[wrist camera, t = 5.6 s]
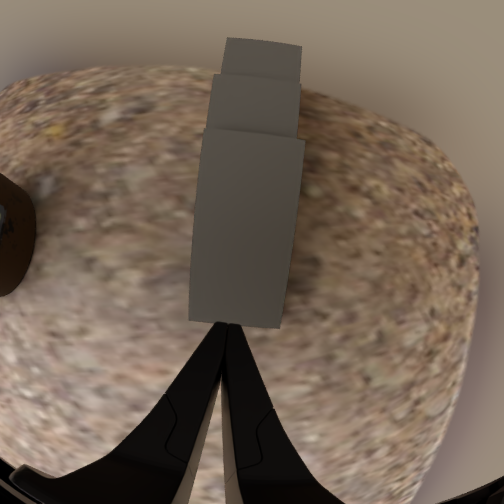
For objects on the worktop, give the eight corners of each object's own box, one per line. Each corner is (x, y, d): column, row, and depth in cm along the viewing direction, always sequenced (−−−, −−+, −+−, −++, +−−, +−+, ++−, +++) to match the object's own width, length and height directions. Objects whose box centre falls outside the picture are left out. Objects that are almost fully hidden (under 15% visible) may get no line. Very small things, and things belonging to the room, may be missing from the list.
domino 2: (283, 253, 16) (301, 83, 13) (194, 245, 15) (214, 74, 13) (279, 248, 17) (295, 92, 15) (198, 240, 17) (216, 83, 15)
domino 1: (279, 328, 15) (305, 140, 13) (188, 320, 14) (204, 128, 12) (276, 316, 16) (298, 145, 14) (192, 308, 16) (207, 134, 14)
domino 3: (289, 186, 16) (302, 46, 14) (206, 177, 16) (227, 37, 14) (285, 186, 18) (297, 56, 16) (209, 179, 18) (227, 48, 16)
